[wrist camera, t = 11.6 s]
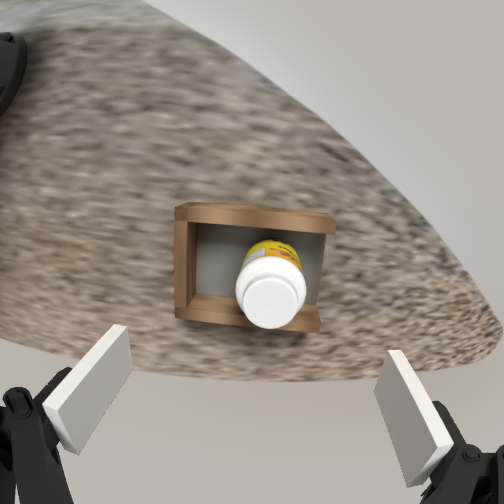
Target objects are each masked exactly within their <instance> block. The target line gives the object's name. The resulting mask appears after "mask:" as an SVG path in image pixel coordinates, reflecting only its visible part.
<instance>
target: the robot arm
mask: <svg viewBox="0 0 504 504" xmlns="http://www.w3.org/2000/svg"><path fill="white" fill-rule="evenodd" d="M26 58H27V47H26V42H25V40H24V39H23V37H21V36H20V35H17V34H14V33H12V32H1V33H0V115H1V114H2V113H3V112H4V111H5V109H6V108H7V107H8V105H9V104H10V102H11V100H12V99H13V97H14V95H15V93H16V91H17V89H18V86H19V84H20V81H21V79H22V76H23V72H24V69H25V64H26ZM132 371H133V363H132V357H131V351H130V344H129V337H128V329H127V327H126V326H121V325H116V324H114V325H113V326H112V327H111V328H110V329H109V330H108V331H107V333H106V334H105V335H104V336H103V337H102V338H101V339H100V340H99V341H98V342H97V343H96V344H95V345H94V346H93V347H92V349H91V350H90V351H89V352H88V353H87V354H86V355H85V356H84V357H83V358H82V359H81V361H80V362H79V363H78V364H77V365H76V366H75V367H74V368H70V367H67V368H65V369H63V370H61V371H59V372H58V373H57V374H56V375H55V376H54V377H53V379H52V380H51V381H50V382H49V383H48V385H46V386H45V387H44V388H43V389H42V391H40V393H39V394H38V395H37V396H36V397H35V398H34V399H32V397H31V394H30V392H29V391H28V390H27V389H26V388H23V387H14V388H11V389H9V390H8V391H6V393H5V394H4V396H3V401H4V403H5V405H6V407H3V406H0V504H15V489H16V484H17V490H18V495H19V500H20V504H74V503H73V500H72V497H71V495H70V491H69V488H68V485H67V482H66V478H65V475H64V471H63V467H62V464H61V460H60V456H59V452H58V449H57V447H56V446H57V444H58V443H59V441H60V442H61V444H62V446H63V448H64V449H65V450H67V451H70V452H72V453H74V454H77V455H79V454H80V453H81V451H82V449H83V448H84V446H85V444H86V443H87V441H88V440H89V438H90V436H91V434H92V433H93V432H94V430H95V428H96V427H97V425H98V424H99V422H100V420H101V419H102V417H103V416H104V414H105V412H106V411H107V409H108V408H109V406H110V405H111V403H112V402H113V400H114V398H115V397H116V395H117V394H118V392H119V391H120V389H121V388H122V386H123V385H124V383H125V381H126V380H127V378H128V377H129V375H130V374H131V372H132ZM374 394H375V396H376V399H377V402H378V404H379V407H380V410H381V412H382V415H383V418H384V421H385V423H386V426H387V429H388V432H389V435H390V437H391V440H392V443H393V446H394V449H395V452H396V455H397V458H398V461H399V464H400V467H401V470H402V472H403V476H404V479H405V482H406V486H407V488H408V487H413V486H418V485H422V484H423V483H424V482H425V481H426V480H427V478H428V477H430V479H431V482H432V483H431V484H430V485H429V486H428V487H427V489H426V490H425V491H424V492H423V493H422V495H421V496H423V495H424V496H423V499H422V500H421V502H420V504H504V445H502V446H500V447H499V449H498V450H497V451H496V453H482V452H481V450H480V449H479V448H478V447H476V446H474V445H470V444H466V442H465V440H464V438H463V437H462V435H461V433H460V431H459V429H458V428H457V426H456V424H455V423H454V420H453V419H452V417H451V416H450V414H449V412H448V410H447V408H446V407H445V406H444V405H443V404H441V403H440V402H439V401H431V400H430V398H429V397H428V395H427V393H426V391H425V389H424V388H423V386H422V384H421V382H420V381H419V379H418V377H417V376H416V374H415V372H414V371H413V369H412V367H411V366H410V364H409V362H408V361H407V359H406V357H405V356H404V354H403V352H402V351H401V350H388V352H387V355H386V358H385V361H384V364H383V367H382V370H381V373H380V375H379V378H378V381H377V384H376V386H375V389H374Z"/></svg>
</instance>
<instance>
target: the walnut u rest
mask: <svg viewBox="0 0 504 504" xmlns="http://www.w3.org/2000/svg"><path fill="white" fill-rule="evenodd" d="M335 229H336V220H335V219H333V218H332V217H331V216H330V215H329V214H327V213H318V212H308V211H298V210H288V209H277V208H266V207H255V206H242V205H229V204H215V203H200V202H188V203H185V204H182V205H180V206H177V207H175V224H174V300H175V318H180V319H187V320H195V321H202V322H210V323H218V324H227V325H235V326H245V327H255V328H262V327H259V326H257V325H255V324H253V323H252V322H251V321H250V320H249V319H248V318H247V316H246V315H245V313H244V312H243V310H242V309H241V308H240V306H239V304H238V302H237V299H236V294H235V287H236V281H237V278H238V276H239V273H240V270H241V267H242V265H243V262H244V259H245V257H246V254H247V252H248V251H249V249H250V248H251V247H252V246H253V245H254V244H255V243H257V242H258V241H260V240H263V239H266V238H278V239H281V240H284V241H286V242H287V243H289V244H290V245H291V246H292V247H293V248H294V249H295V250H296V252H297V254H298V256H299V260H300V263H301V267H302V271H303V275H304V279H305V283H306V297H305V301H304V303H303V305H302V307H301V309H300V310H299V311H298V313H297V314H295V316H294V318H293V319H292V320H291V321H290V322H289V323H287V324H286V325H284V326H282V327H279V328H275V329H276V330H288V331H302V332H317V333H319V329H320V323H321V321H320V317H319V314H318V310H317V306H316V302H317V295H318V289H319V283H320V276H321V270H322V263H323V256H324V248H325V241H326V234H333V235H335ZM265 329H266V328H265Z"/></svg>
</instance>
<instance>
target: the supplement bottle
mask: <svg viewBox="0 0 504 504" xmlns="http://www.w3.org/2000/svg"><path fill="white" fill-rule="evenodd" d="M235 294H236V299H237V302H238V304H239V306H240V308H241V309H242V310H243V312H244V313H245V315H246V316H247V318H248V319H249V320H250V321H251V322H252V323H253V324H255V325H257V326H259V327H262V328H266V329H275V328H279V327H282V326H284V325H286V324H287V323H289V322H290V321H291V320H292V319H293V318H294V316H295V314H297V313H298V311H299V310H300V309H301V307H302V305H303V303H304V301H305V297H306V283H305V279H304V275H303V271H302V267H301V263H300V260H299V256H298V254H297V252H296V250H295V249H294V248H293V247H292V246H291V245H290V244H289V243H287V242H286V241H284V240H281V239H278V238H266V239H263V240H260V241H258V242H257V243H255V244H254V245H253V246H252V247H251V248H250V249H249V251H248V252H247V254H246V257H245V259H244V262H243V265H242V267H241V270H240V273H239V276H238V278H237V281H236V287H235Z"/></svg>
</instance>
